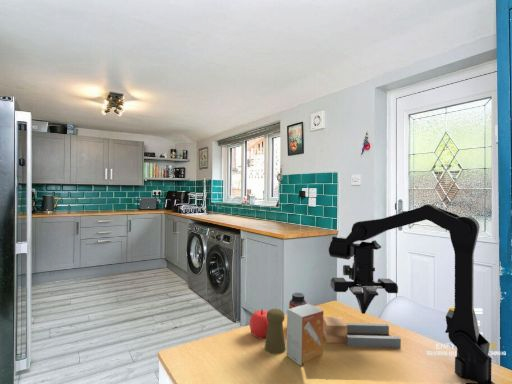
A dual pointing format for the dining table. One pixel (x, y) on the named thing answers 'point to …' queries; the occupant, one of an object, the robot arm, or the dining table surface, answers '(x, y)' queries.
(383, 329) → the chute
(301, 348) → the small box
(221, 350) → the dining table surface
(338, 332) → the block
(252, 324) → the apple
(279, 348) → the olive pepper mill
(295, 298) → the supplement bottle
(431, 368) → the dining table surface
